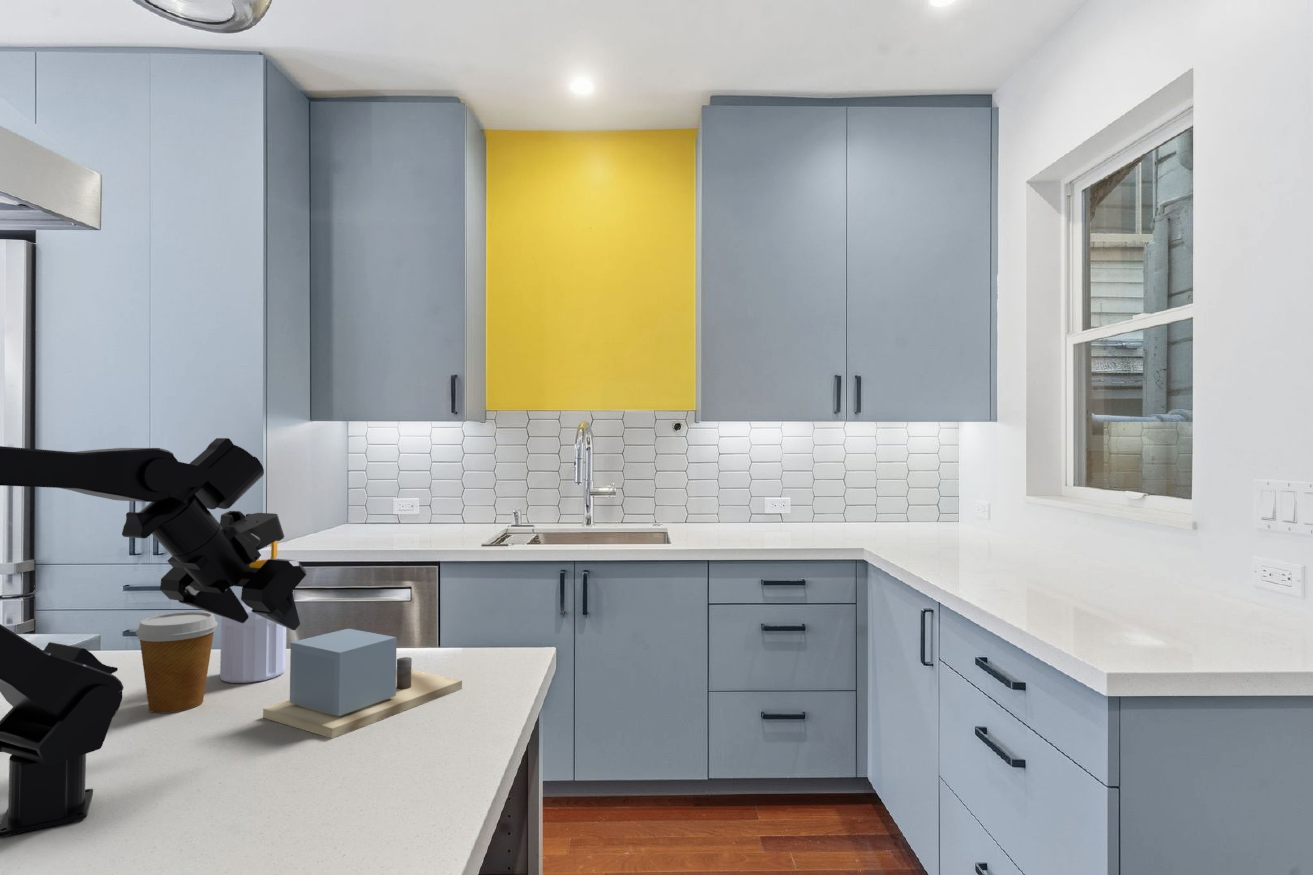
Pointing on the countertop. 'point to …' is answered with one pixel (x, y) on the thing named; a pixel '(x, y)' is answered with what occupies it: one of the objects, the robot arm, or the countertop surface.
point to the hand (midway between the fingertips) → (270, 623)
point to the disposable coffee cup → (176, 659)
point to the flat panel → (409, 694)
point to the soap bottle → (252, 644)
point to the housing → (342, 671)
